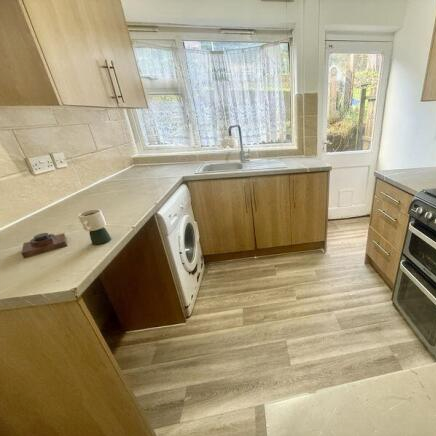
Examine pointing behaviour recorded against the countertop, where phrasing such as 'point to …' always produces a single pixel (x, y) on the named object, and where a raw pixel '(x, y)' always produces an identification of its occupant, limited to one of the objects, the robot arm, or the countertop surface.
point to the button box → (44, 245)
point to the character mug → (95, 226)
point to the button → (41, 236)
